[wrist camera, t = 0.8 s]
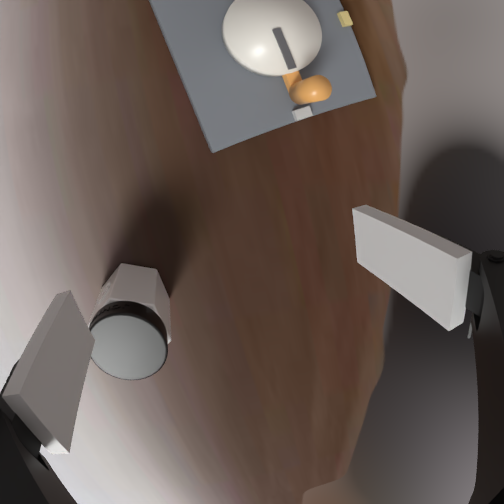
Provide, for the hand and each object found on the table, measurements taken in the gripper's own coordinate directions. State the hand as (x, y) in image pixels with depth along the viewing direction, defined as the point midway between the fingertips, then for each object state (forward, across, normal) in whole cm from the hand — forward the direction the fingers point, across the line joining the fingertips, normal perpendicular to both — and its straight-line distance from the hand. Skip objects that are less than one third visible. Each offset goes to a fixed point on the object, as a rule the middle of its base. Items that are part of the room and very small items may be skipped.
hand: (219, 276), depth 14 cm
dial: (+23, +13, +14) cm, 30 cm away
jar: (+25, -10, -11) cm, 29 cm away
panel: (+25, +13, +16) cm, 32 cm away
